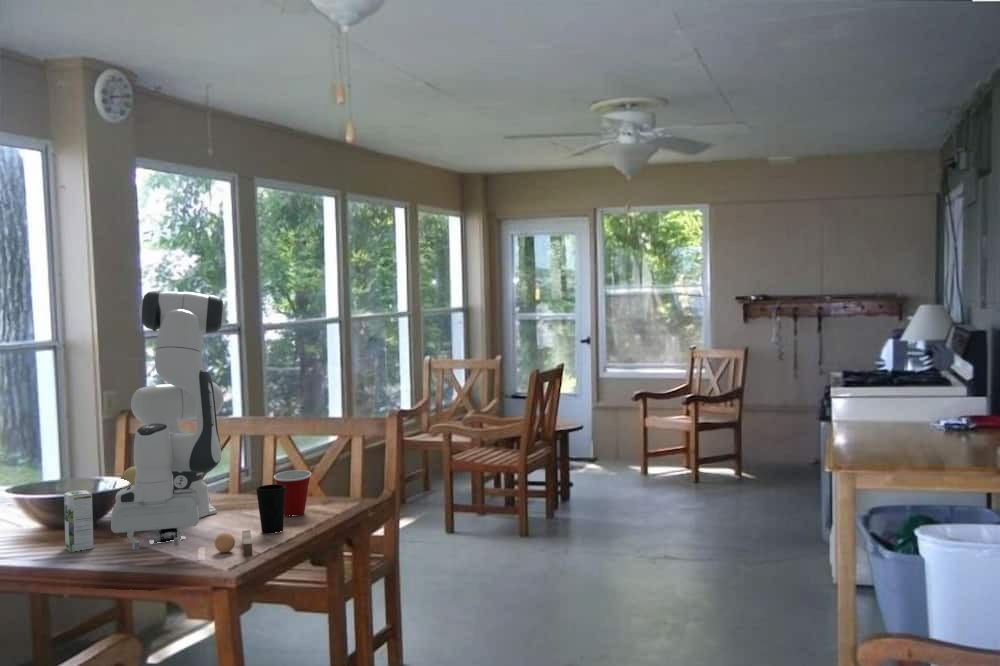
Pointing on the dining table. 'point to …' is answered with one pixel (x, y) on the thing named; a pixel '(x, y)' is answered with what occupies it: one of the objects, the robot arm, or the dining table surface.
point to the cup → (271, 507)
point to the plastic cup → (294, 490)
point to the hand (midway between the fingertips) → (156, 547)
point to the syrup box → (78, 520)
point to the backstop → (247, 543)
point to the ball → (224, 542)
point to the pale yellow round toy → (129, 475)
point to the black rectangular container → (166, 538)
